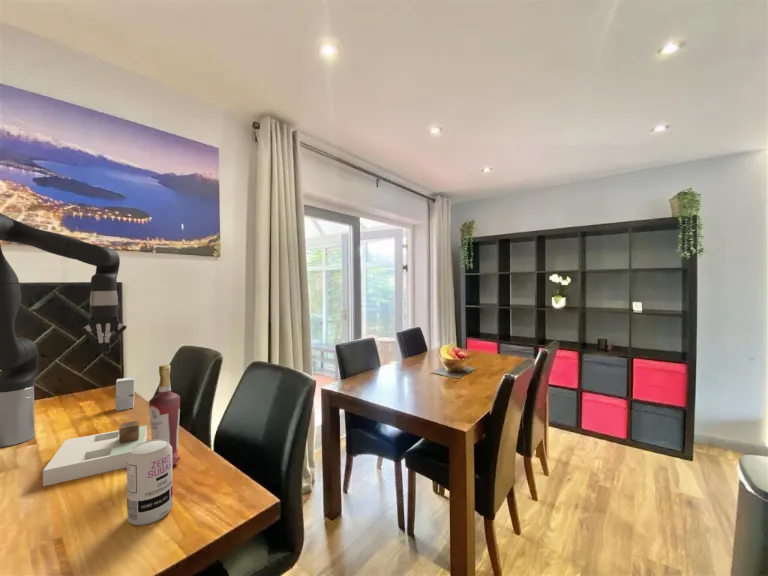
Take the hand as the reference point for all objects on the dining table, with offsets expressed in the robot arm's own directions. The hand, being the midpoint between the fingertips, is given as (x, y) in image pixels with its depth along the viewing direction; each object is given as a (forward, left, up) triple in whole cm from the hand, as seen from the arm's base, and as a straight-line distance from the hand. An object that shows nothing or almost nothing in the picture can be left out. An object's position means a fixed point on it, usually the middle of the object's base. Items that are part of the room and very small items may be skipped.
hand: (104, 353), depth 118 cm
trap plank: (+3, -25, -27) cm, 37 cm away
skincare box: (+3, +23, -27) cm, 36 cm away
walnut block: (+10, -25, -23) cm, 35 cm away
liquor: (+19, -40, -27) cm, 52 cm away
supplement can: (+17, -62, -27) cm, 70 cm away
